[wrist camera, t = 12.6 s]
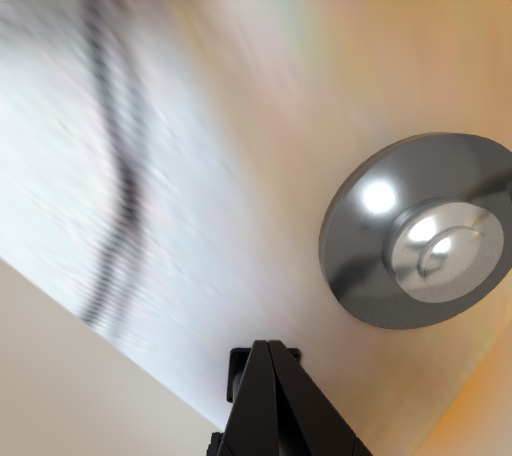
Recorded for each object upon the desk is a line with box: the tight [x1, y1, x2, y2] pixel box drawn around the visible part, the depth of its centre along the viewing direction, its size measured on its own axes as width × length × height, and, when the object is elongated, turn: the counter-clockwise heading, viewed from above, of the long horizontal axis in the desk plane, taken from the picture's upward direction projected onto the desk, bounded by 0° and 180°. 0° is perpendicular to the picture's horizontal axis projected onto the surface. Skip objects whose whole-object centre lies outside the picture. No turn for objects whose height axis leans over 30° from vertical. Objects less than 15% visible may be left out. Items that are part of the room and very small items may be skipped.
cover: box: [382, 196, 504, 303], centre depth 19 cm, size 7×7×3 cm
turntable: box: [319, 132, 512, 329], centre depth 18 cm, size 17×15×8 cm
